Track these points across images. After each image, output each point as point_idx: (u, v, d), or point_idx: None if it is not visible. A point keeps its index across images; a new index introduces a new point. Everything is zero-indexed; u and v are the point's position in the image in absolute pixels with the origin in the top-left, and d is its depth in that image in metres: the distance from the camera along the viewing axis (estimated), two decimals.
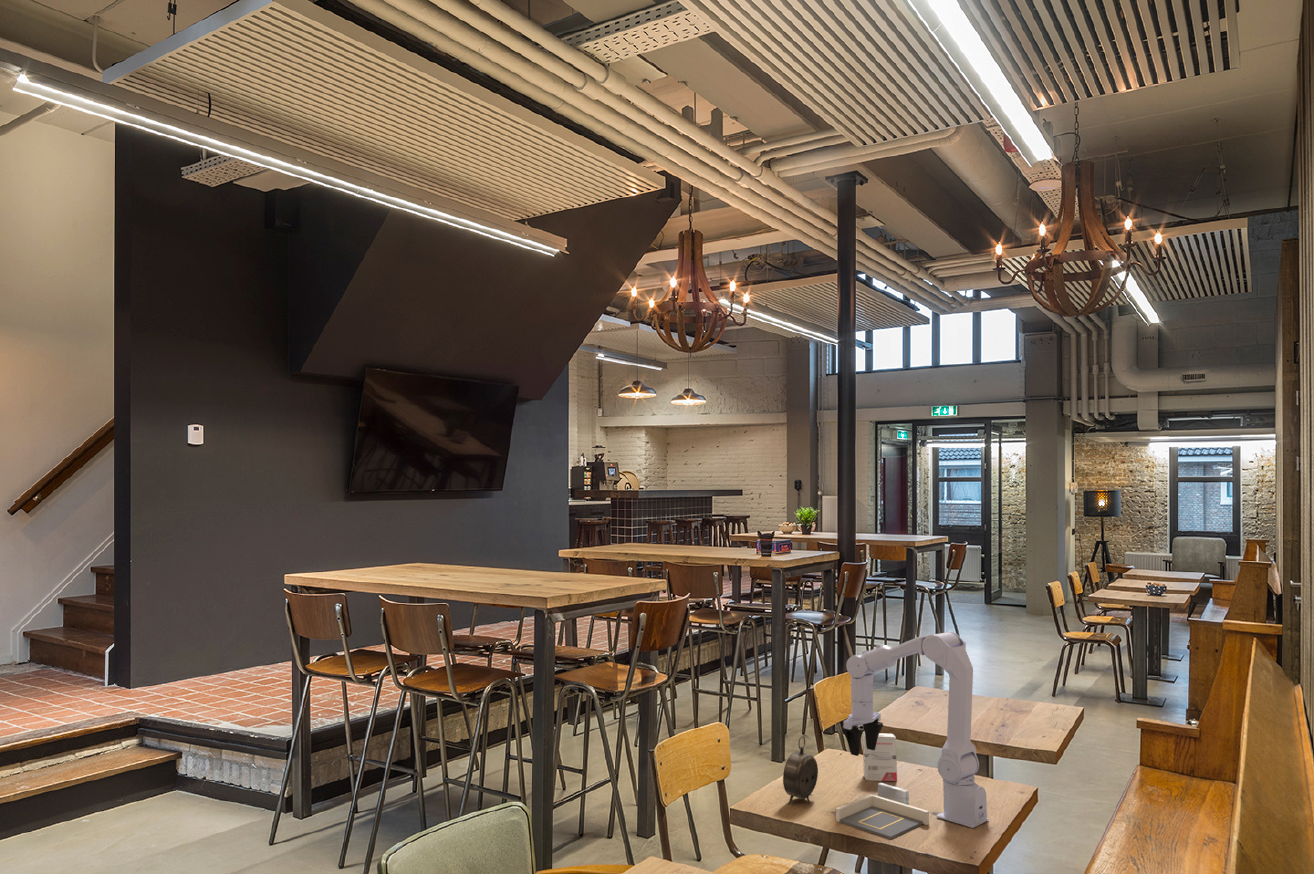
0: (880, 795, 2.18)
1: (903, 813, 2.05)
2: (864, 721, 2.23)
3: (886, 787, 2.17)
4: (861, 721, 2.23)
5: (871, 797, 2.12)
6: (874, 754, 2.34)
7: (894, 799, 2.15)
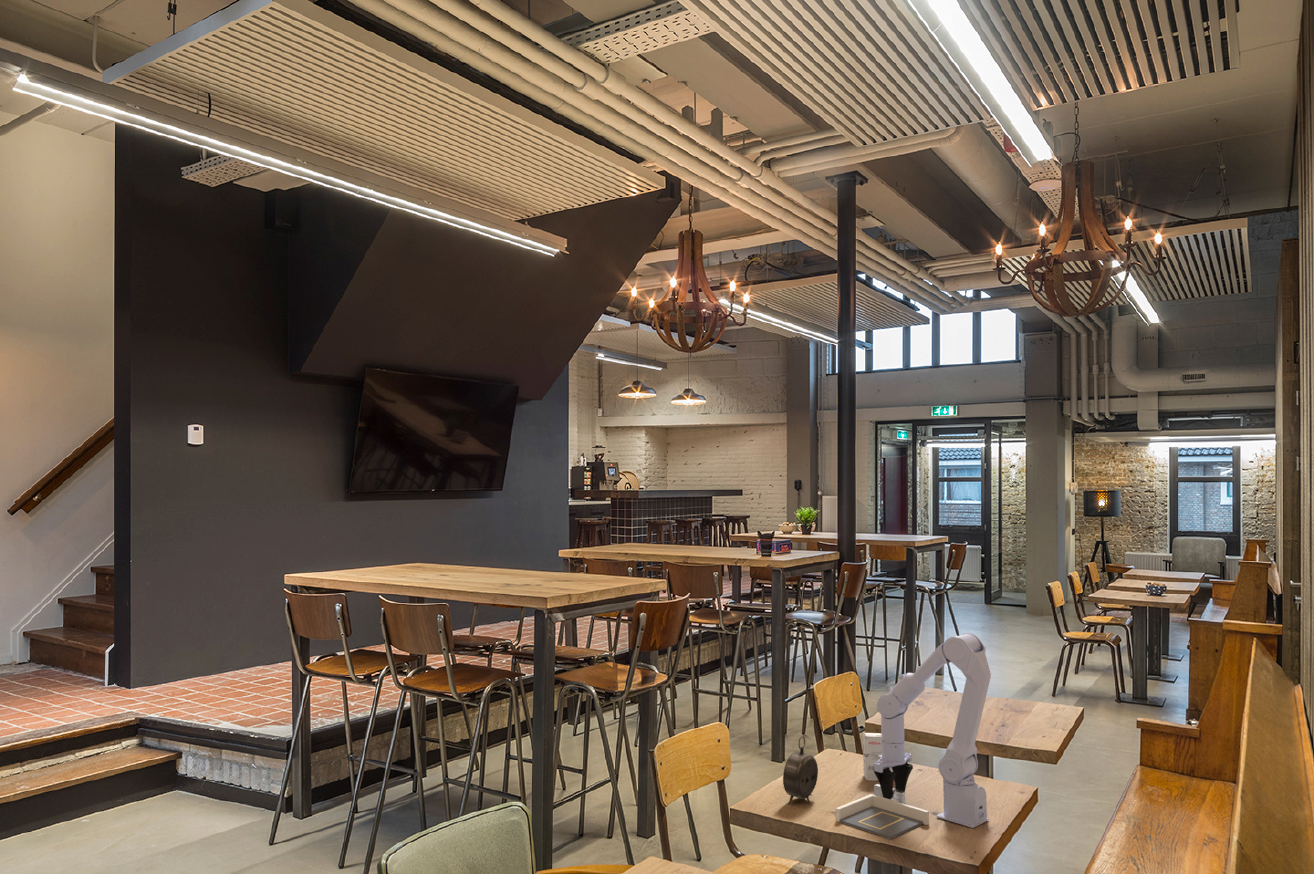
0: None
1: (903, 813, 2.05)
2: (895, 763, 2.14)
3: None
4: (892, 763, 2.14)
5: (871, 797, 2.12)
6: (874, 754, 2.34)
7: None
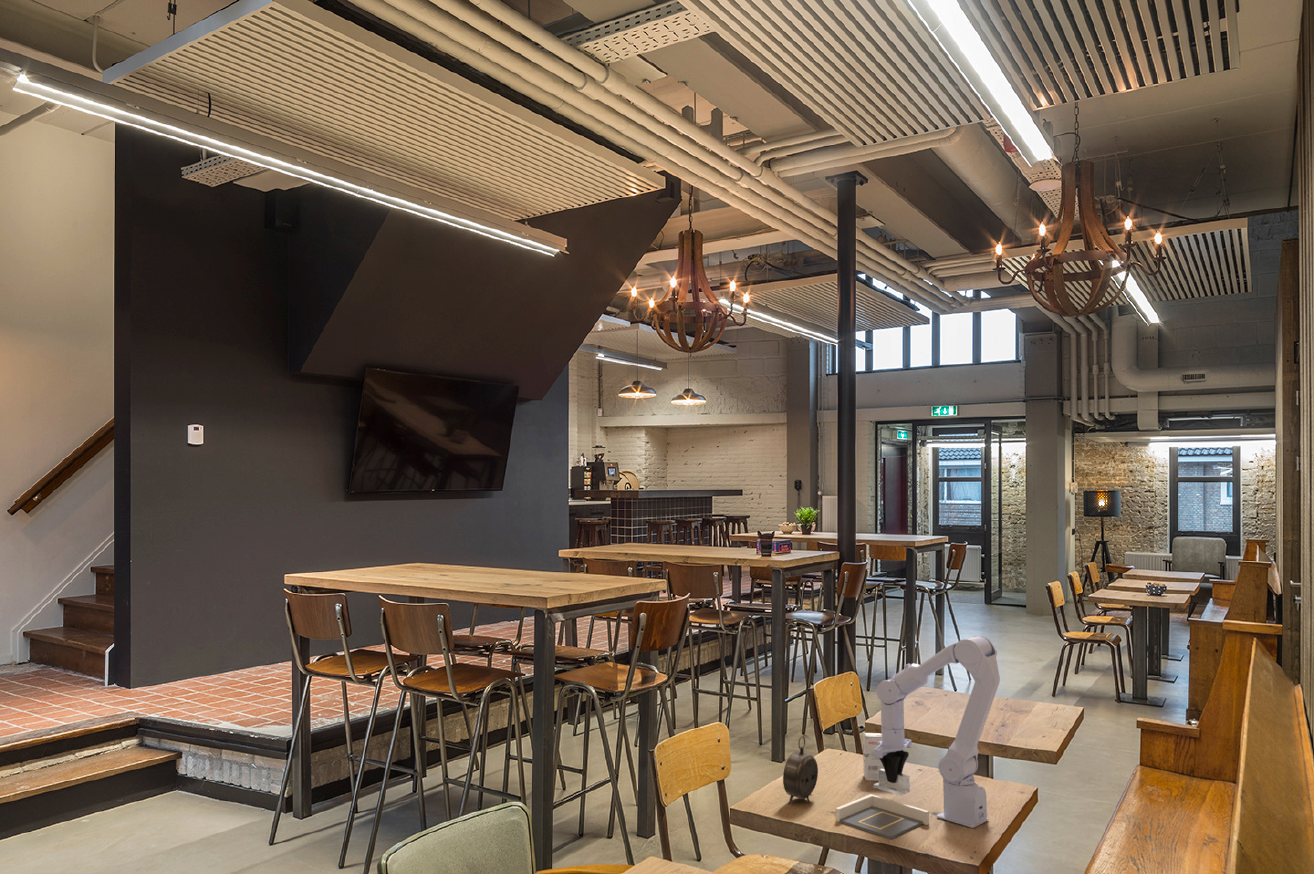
0: (881, 781, 2.19)
1: (903, 813, 2.05)
2: (895, 749, 2.14)
3: None
4: (892, 749, 2.14)
5: (871, 797, 2.12)
6: None
7: (895, 784, 2.16)
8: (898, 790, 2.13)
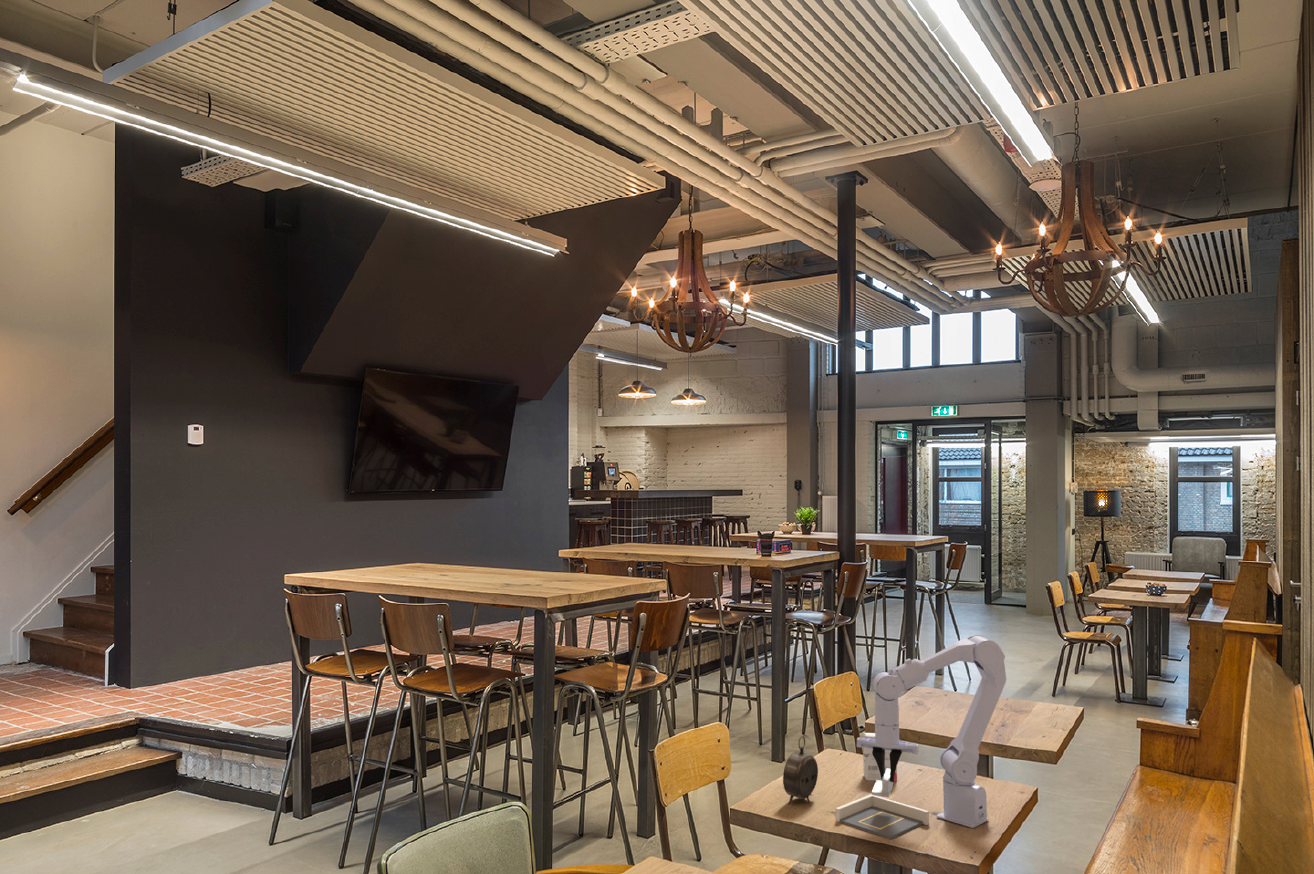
0: None
1: (903, 813, 2.05)
2: (875, 744, 2.06)
3: (885, 773, 2.08)
4: (871, 743, 2.07)
5: (871, 797, 2.12)
6: None
7: None
8: (875, 790, 2.05)
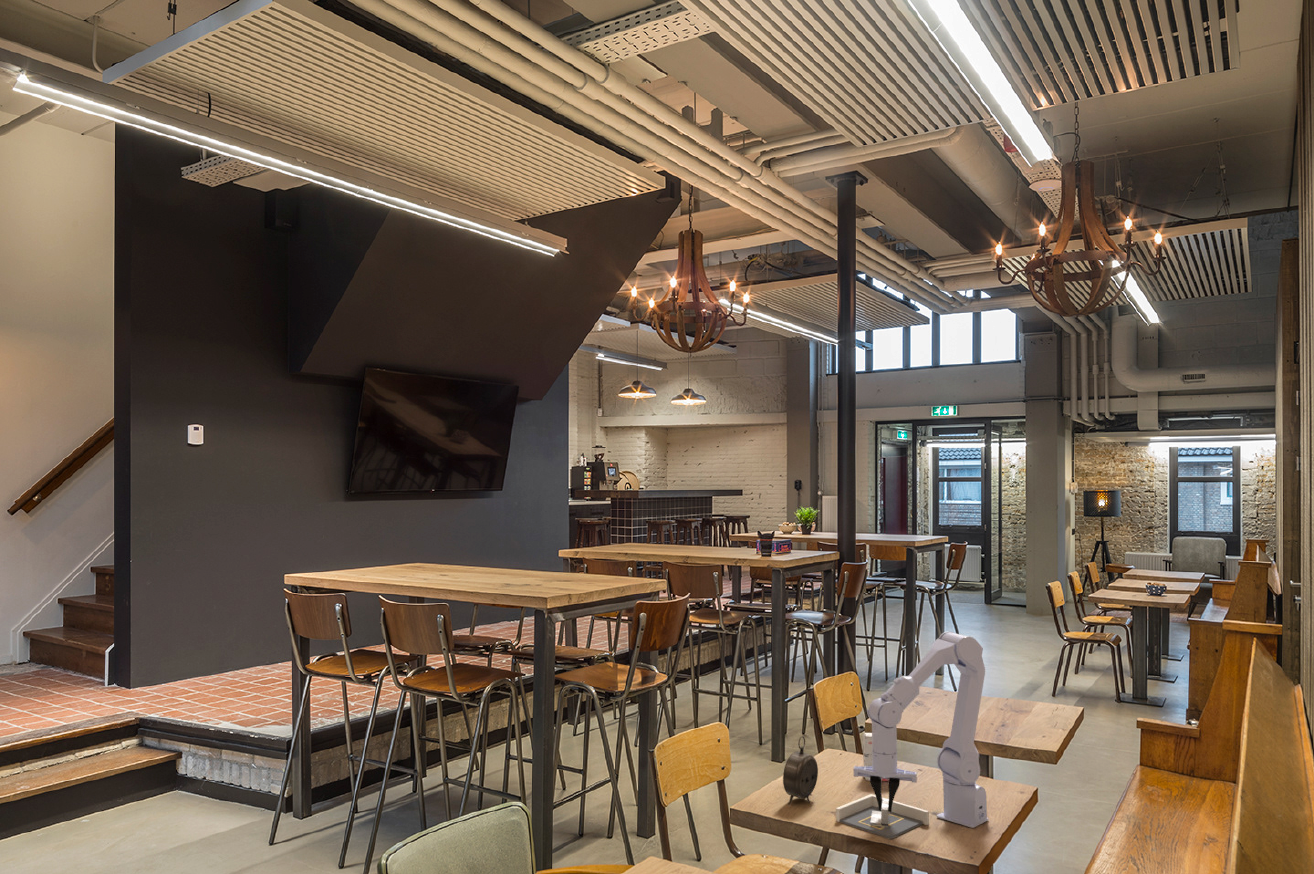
0: None
1: (903, 813, 2.05)
2: (873, 773, 2.00)
3: (882, 802, 2.03)
4: (869, 772, 2.01)
5: (871, 797, 2.12)
6: None
7: None
8: (873, 821, 1.99)
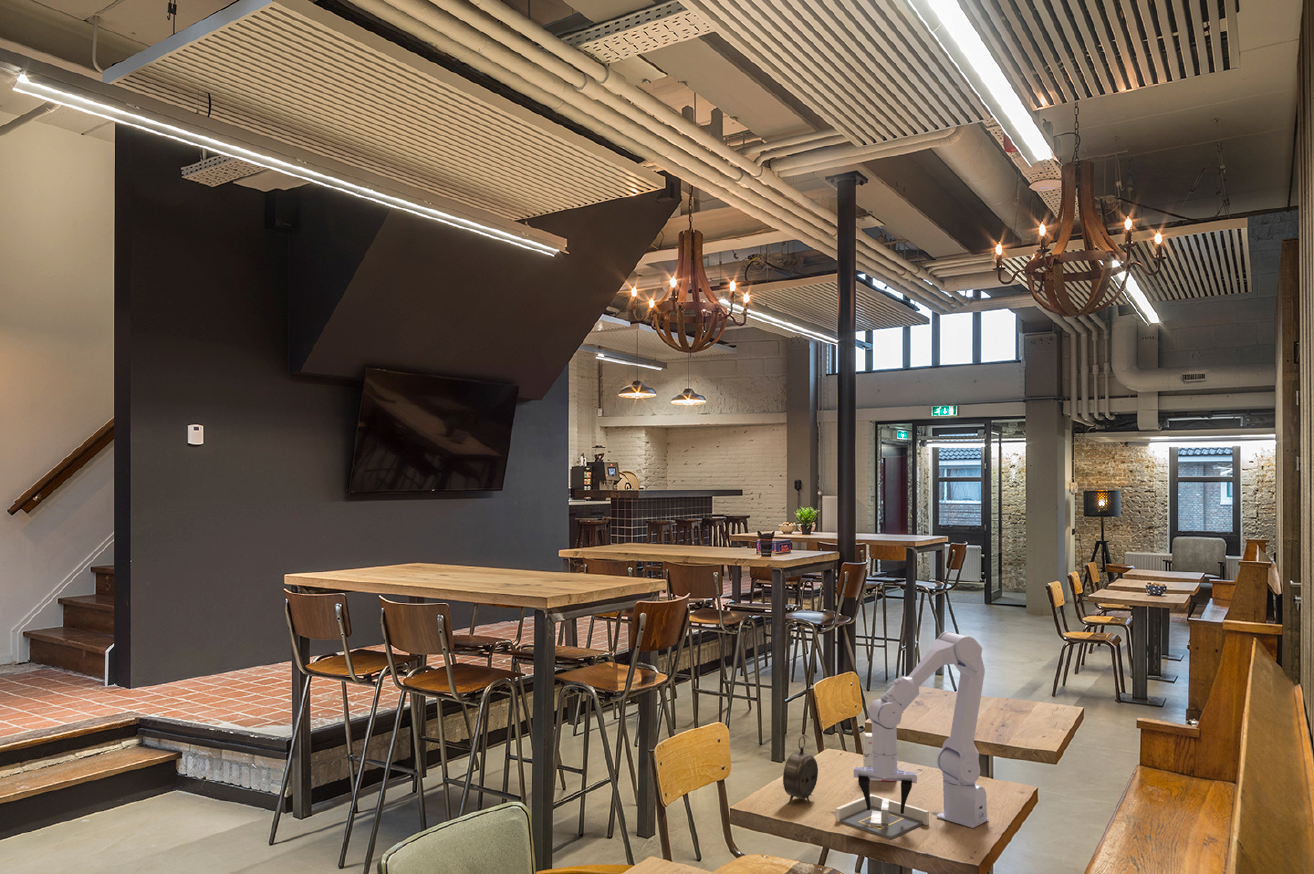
0: None
1: None
2: (873, 774, 2.00)
3: (882, 803, 2.03)
4: (869, 773, 2.01)
5: (871, 797, 2.12)
6: None
7: None
8: (873, 821, 1.99)
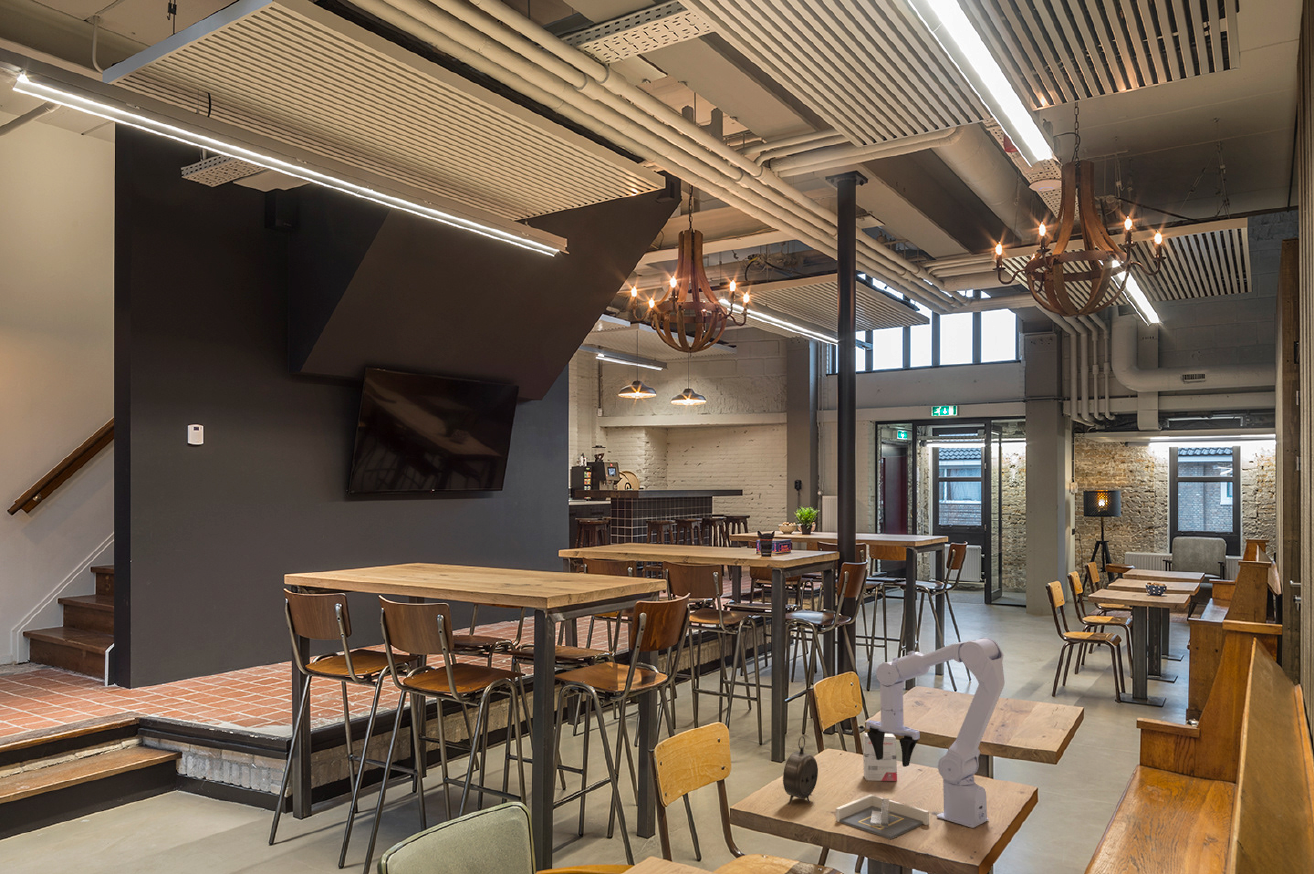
0: None
1: (903, 813, 2.05)
2: (878, 727, 2.19)
3: (882, 803, 2.03)
4: (876, 725, 2.20)
5: (871, 797, 2.12)
6: (874, 754, 2.34)
7: None
8: (873, 821, 1.99)
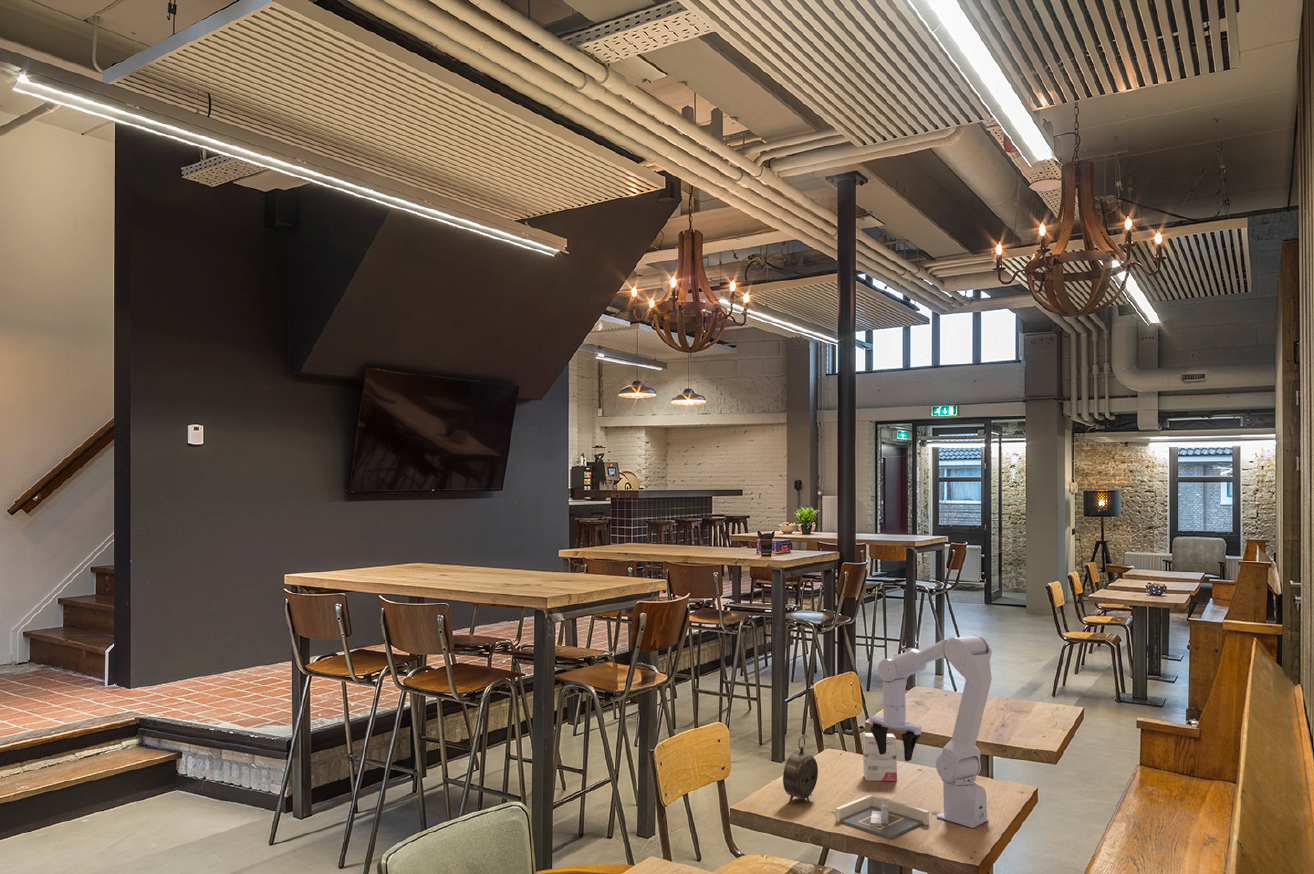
0: None
1: (903, 813, 2.05)
2: (881, 722, 2.24)
3: (882, 803, 2.03)
4: (879, 721, 2.25)
5: (871, 797, 2.12)
6: (874, 754, 2.34)
7: None
8: (873, 821, 1.99)
